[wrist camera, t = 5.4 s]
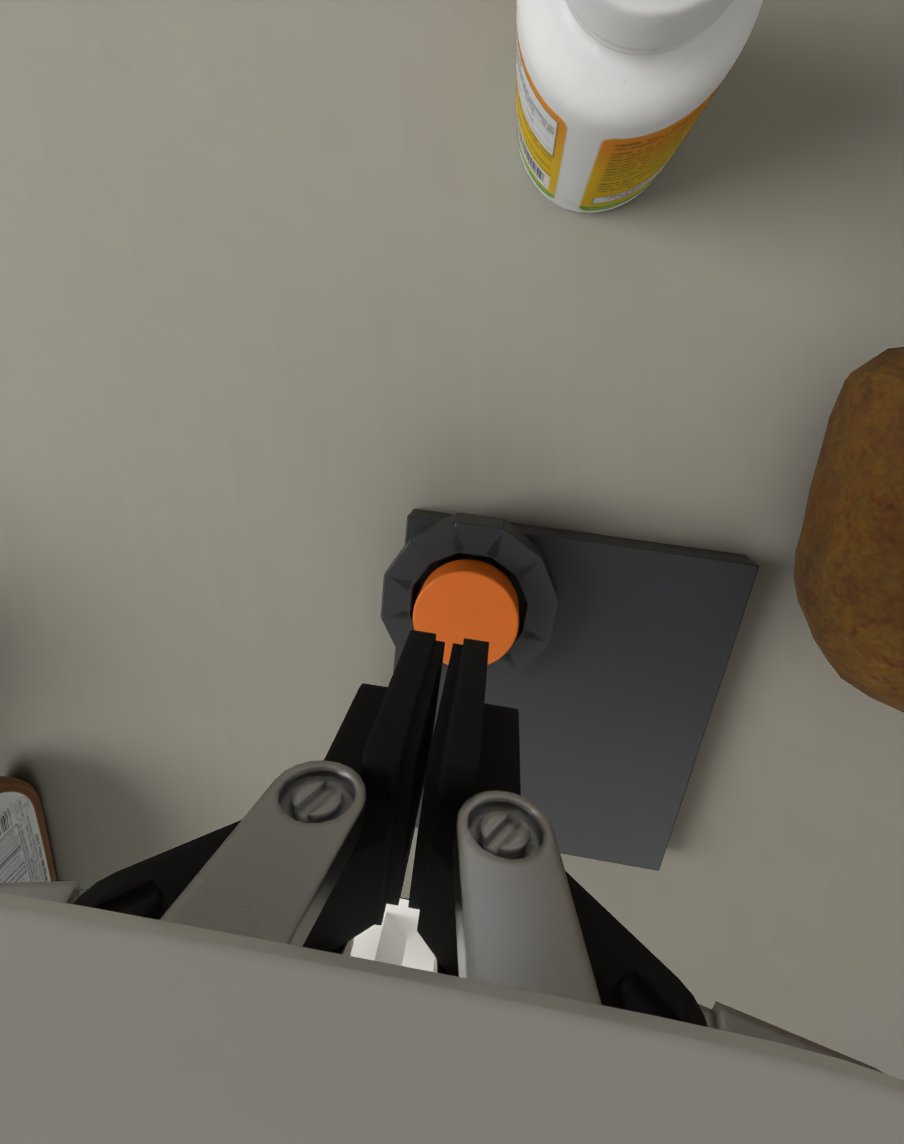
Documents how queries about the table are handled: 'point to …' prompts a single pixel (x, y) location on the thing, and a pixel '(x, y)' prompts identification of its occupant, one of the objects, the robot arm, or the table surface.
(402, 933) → the napkin holder
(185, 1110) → the robot arm
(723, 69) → the supplement bottle
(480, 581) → the button
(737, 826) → the table surface
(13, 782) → the tin
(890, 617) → the potato
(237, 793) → the table surface
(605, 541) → the dark grey button base
